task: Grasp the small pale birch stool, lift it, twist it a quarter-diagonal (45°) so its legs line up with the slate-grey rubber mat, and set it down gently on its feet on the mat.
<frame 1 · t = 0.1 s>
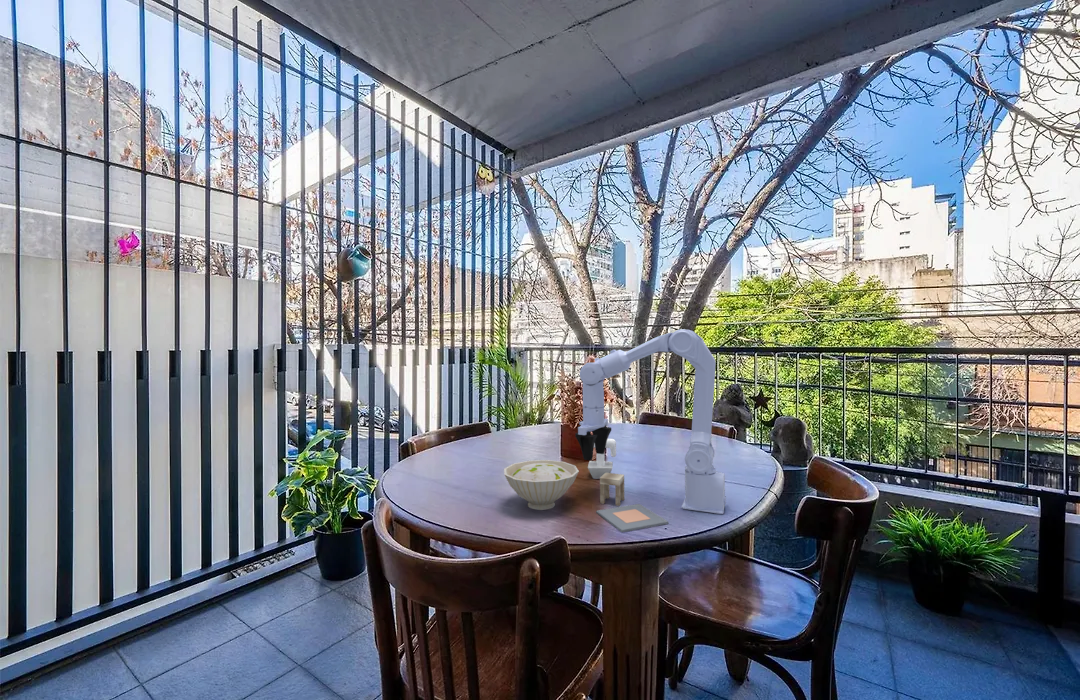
hand: (594, 456, 124), 10 cm above the table, tool pointing down, fingers open, 7 cm apart
bowl: (541, 505, 117), on the table
stool: (612, 501, 118), on the table
figurine: (600, 477, 139), on the table
mat: (631, 518, 107), on the table
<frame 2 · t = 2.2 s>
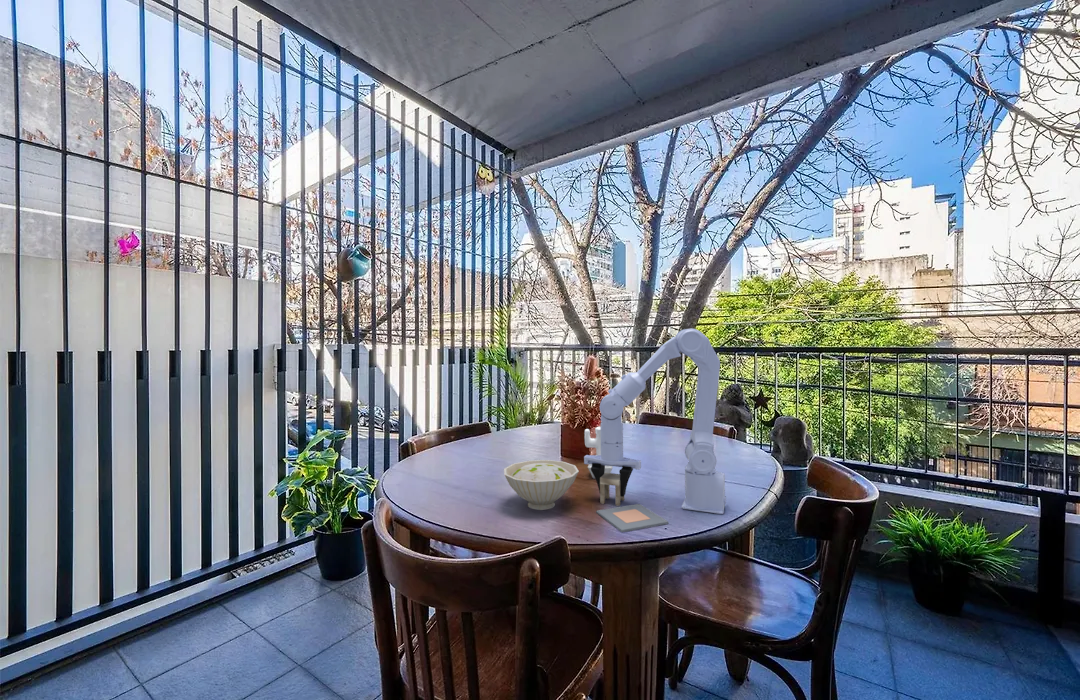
hand: (612, 493, 118), 2 cm above the table, tool pointing down, fingers closed on stool, 5 cm apart
stool: (612, 501, 118), on the table, touching gripper
everything else where it was.
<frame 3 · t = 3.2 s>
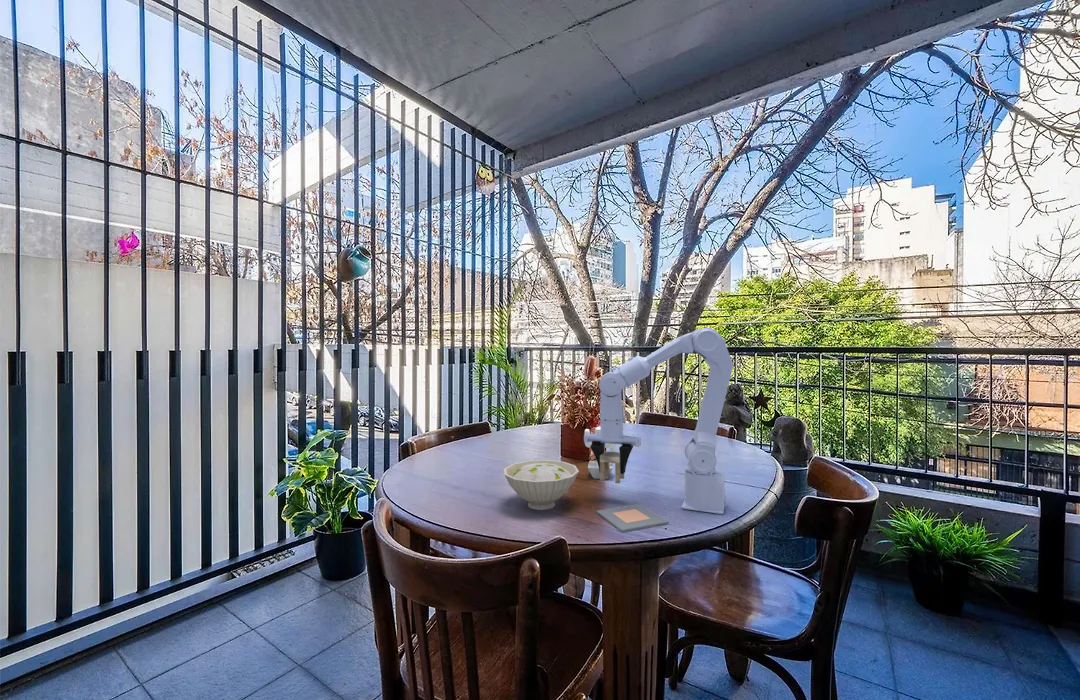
hand: (612, 471, 118), 8 cm above the table, tool pointing down, fingers closed on stool, 5 cm apart
stool: (612, 479, 118), point 6 cm above the table, touching gripper
everything else where it was.
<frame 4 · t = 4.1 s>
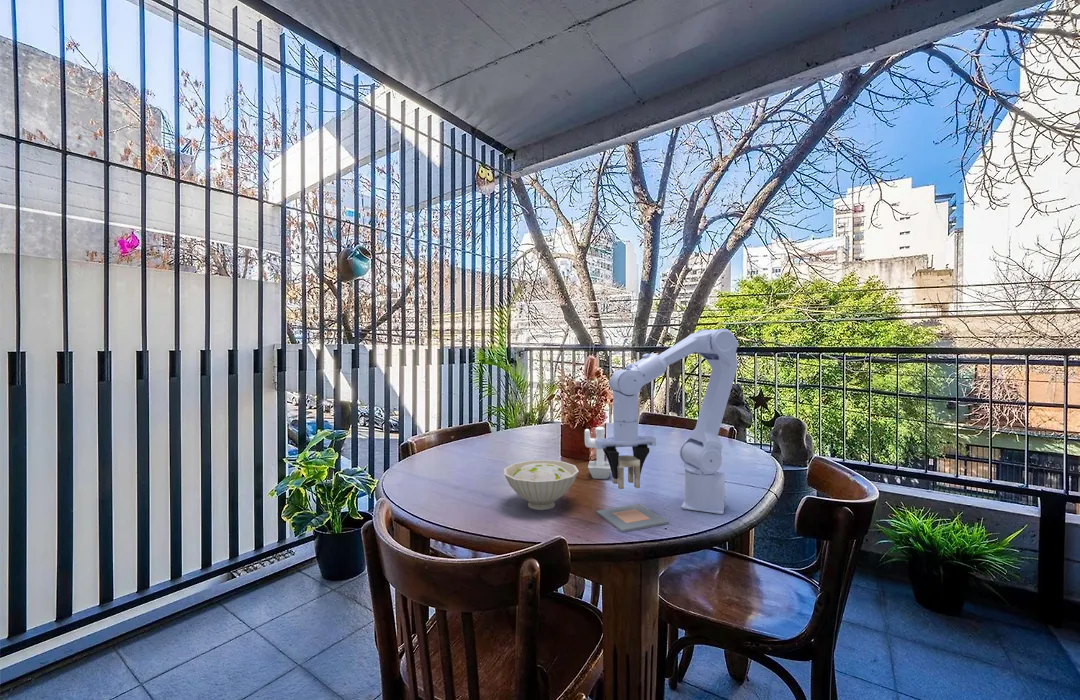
hand: (626, 477, 109), 9 cm above the table, tool pointing down, fingers closed on stool, 5 cm apart
stool: (625, 485, 109), point 7 cm above the table, touching gripper
everything else where it was.
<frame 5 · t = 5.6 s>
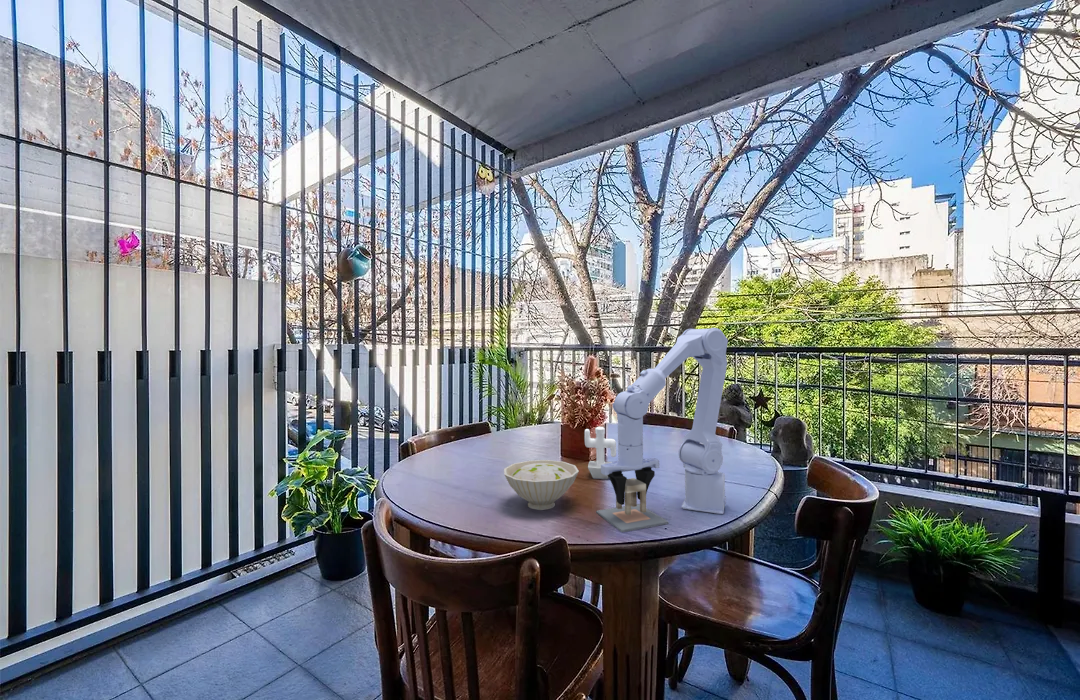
hand: (631, 501, 107), 4 cm above the table, tool pointing down, fingers closed on stool, 5 cm apart
stool: (630, 509, 107), point 2 cm above the table, touching gripper
everything else where it was.
when the fingers open (4 cm above the table, at t = 6.5 s): stool drops 1 cm, resting on mat.
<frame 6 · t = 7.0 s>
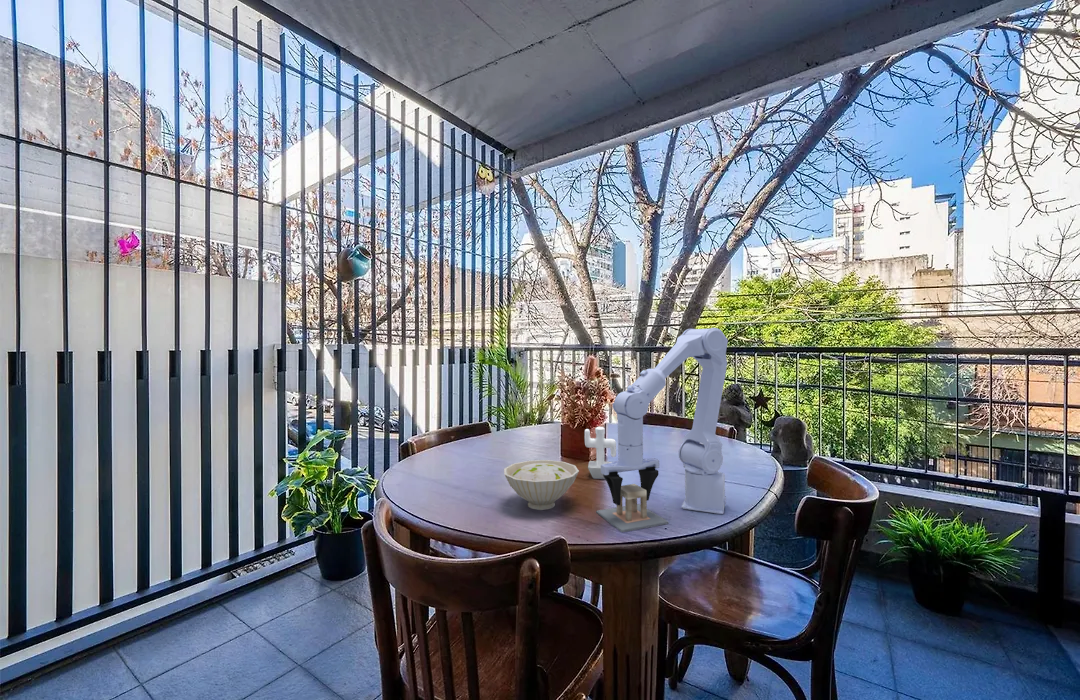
hand: (631, 501, 107), 4 cm above the table, tool pointing down, fingers open, 7 cm apart
stool: (631, 515, 107), point 1 cm above the table, touching mat
everything else where it was.
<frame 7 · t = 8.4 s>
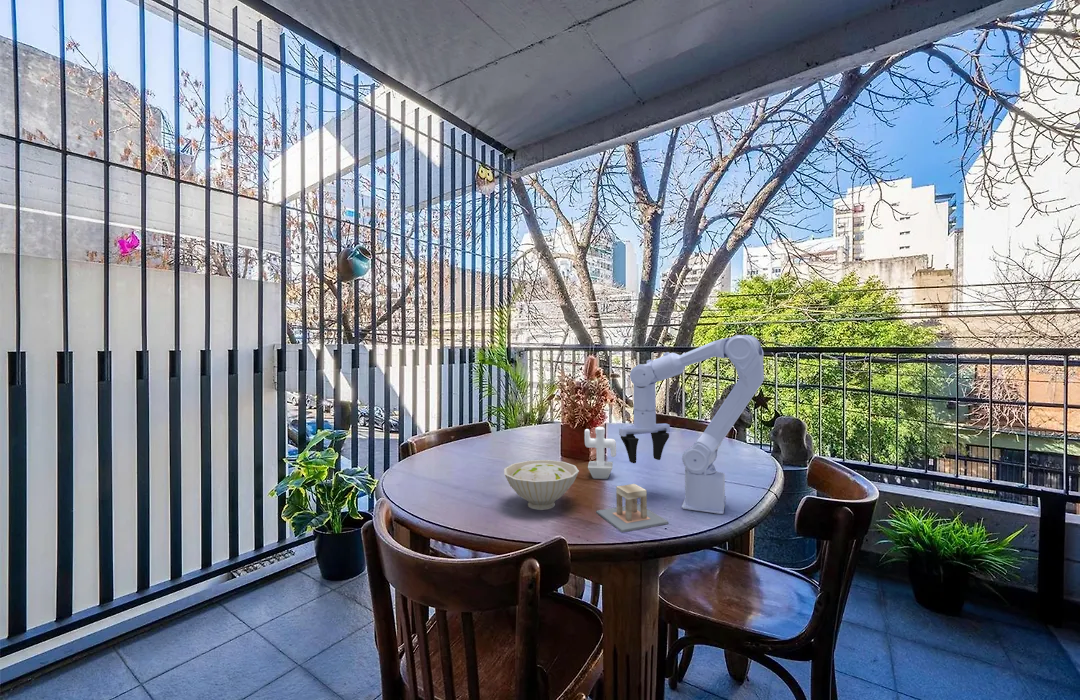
hand: (645, 460, 121), 9 cm above the table, tool pointing down, fingers open, 7 cm apart
nothing on the table moved.
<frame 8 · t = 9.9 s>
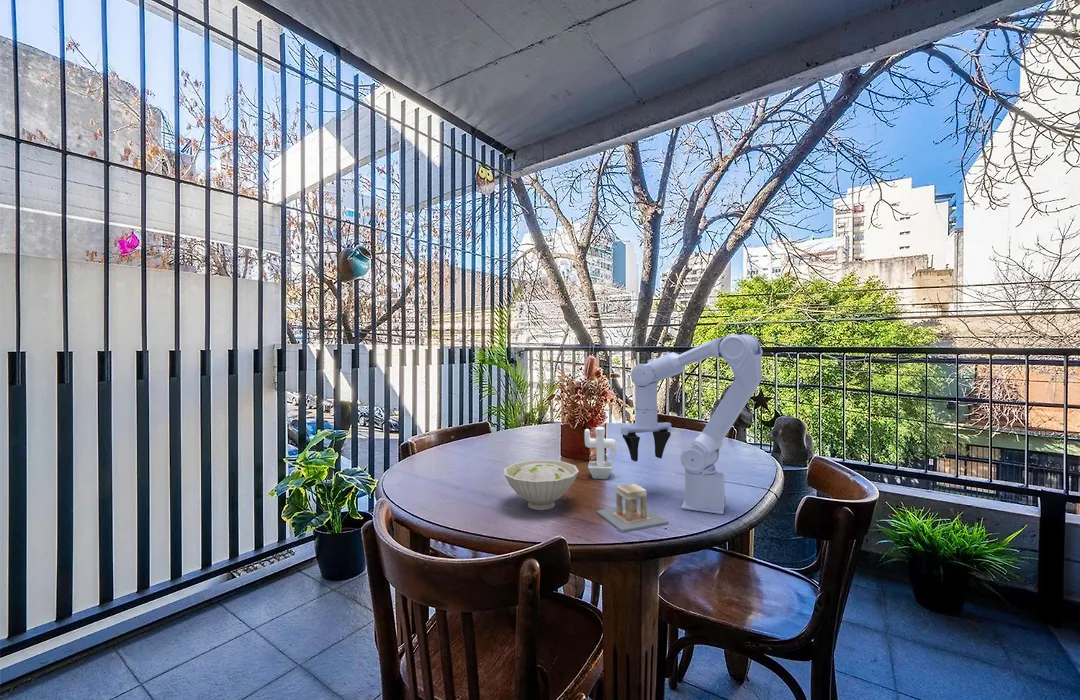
hand: (646, 459, 123), 9 cm above the table, tool pointing down, fingers open, 7 cm apart
nothing on the table moved.
at the end: stool 0.1 cm from the mat (horizontally); stool tilted 0°; stool touching mat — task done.
